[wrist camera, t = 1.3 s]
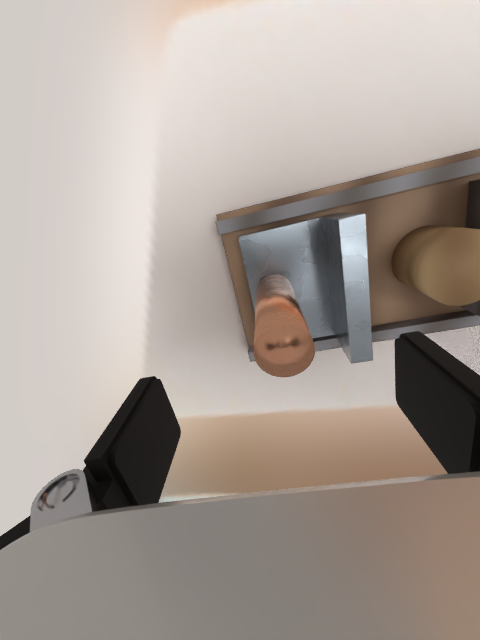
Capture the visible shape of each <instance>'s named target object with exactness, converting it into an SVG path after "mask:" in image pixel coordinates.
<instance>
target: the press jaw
mask: <svg viewBox="0 0 480 640" xmlns="http://www.w3.org/2000/svg"><path fill="white" fill-rule="evenodd" d="M238 238H239V243H240V247H241V252H242V256H243V261H244V265H245V270H246V274H247V279H248V283H249V288H250V292H251V297H252V301H253V306H254V310H255V330H254V348H253V353H254V358H255V361H256V363H257V364H258V366H259V367H260V368H261V369H262V370H263V371H265V372H266V373H268V374H270V375H273V376H277V377H290V376H294V375H297V374H299V373H301V372H302V371H304V370H305V369H306V368H307V367H308V366H309V365H310V364H311V362H312V360H313V358H314V354H315V345H314V342H313V339H312V338H318V337H324V336H330V335H335V337H336V338H337V340H338V342H339V343H340V345H341V347H342V349H343V350H344V352H345V354H346V355H347V357H348V359H349V361H350V362H351V363H358V362H365V361H371V360H373V352H372V333H371V314H370V294H369V275H368V256H367V237H366V217H365V214H361V213H334V214H330V215H325V216H321V217H317V218H313V219H308V220H304V221H300V222H296V223H291V224H287V225H283V226H279V227H274V228H270V229H266V230H262V231H257V232H253V233H249V234H245V235H240V236H239V237H238Z"/></svg>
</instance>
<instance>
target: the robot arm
mask: <svg viewBox="0 0 480 640" xmlns="http://www.w3.org/2000/svg"><path fill="white" fill-rule="evenodd" d="M395 387H396V401H397V403H398V405H399V407H400V408H401V410H402V411H403V413H404V414H405V415H406V417H407V418H408V419H409V421H410V422H411V423H412V425H413V426H414V428H415V429H416V430H417V432H418V433H419V434H420V436H421V437H422V438H423V440H424V441H425V442H426V444H427V445H428V447H429V448H430V449H431V451H432V452H433V453H434V455H435V456H436V458H437V459H438V460H439V462H440V463H441V464H442V466H443V467H444V468H445V470H446V471H447V473H448V474H443V475H429V476H417V477H406V478H396V479H386V480H376V481H365V482H355V483H345V484H335V485H324V486H314V487H305V488H295V489H285V490H275V491H266V492H256V493H246V494H237V495H227V496H218V497H209V498H200V499H191V500H181V501H172V502H163V503H158V502H159V499H160V496H161V493H162V490H163V487H164V483H165V481H166V478H167V474H168V472H169V469H170V466H171V463H172V459H173V457H174V454H175V451H176V448H177V444H178V441H179V438H180V434H181V430H180V426H179V424H178V421H177V419H176V416H175V414H174V411H173V409H172V406H171V404H170V402H169V399H168V397H167V394H166V392H165V389H164V387H163V384H162V382H161V380H160V379H157V378H156V377H154V376H152V377H146V378H141V379H140V380H139V381H138V382H137V384H136V385H135V387H134V388H133V390H132V391H131V393H130V394H129V395H128V397H127V398H126V400H125V401H124V403H123V404H122V406H121V407H120V409H119V410H118V411H117V413H116V414H115V416H114V417H113V419H112V421H111V422H110V423H109V425H108V426H107V427H106V429H105V430H104V432H103V434H102V435H101V436H100V438H99V439H98V441H97V442H96V444H95V445H94V446H93V448H92V449H91V451H90V452H89V454H88V455H87V457H86V458H85V460H84V462H85V464H86V467H85V468H84V470H83V471H82V470H79V469H73V470H70V471H67V472H64V473H62V474H60V475H58V476H57V477H56V478H54V479H53V480H51V481H50V482H49V483H48V484H47V485H46V486H44V487H43V488H42V490H41V491H40V492H39V493H38V495H37V496H36V497H35V499H34V501H33V503H32V507H31V515H30V516H29V517H28V518H26V519H25V520H23V521H22V522H20V523H19V524H17V525H16V526H15V527H13V528H12V529H10V530H9V531H8V532H6V533H5V534H3V535H2V536H0V640H480V375H478V374H477V373H475V372H474V371H473V370H471V369H470V368H469V367H467V366H466V365H465V364H463V363H462V362H460V361H459V360H458V359H456V358H455V357H454V356H452V355H451V354H450V353H448V352H447V351H446V350H444V349H443V348H441V347H440V346H439V345H437V344H436V343H435V342H433V341H432V340H431V339H429V338H428V337H427V336H425V335H424V334H422V333H421V332H419V331H414V332H408V333H403V334H400V336H399V338H396V339H395Z"/></svg>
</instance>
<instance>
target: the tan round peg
mask: <svg viewBox="0 0 480 640" xmlns="http://www.w3.org/2000/svg"><path fill="white" fill-rule="evenodd" d="M392 269H393V272H394V275H395V276H396V278H397V279H398V280H399V281H401V282H402V283H404V284H406V285H407V286H409V287H411V288H413V289H415V290H417V291H419V292H421V293H423V294H425V295H427V296H429V297H430V298H432V299H434V300H436V301H438V302H440V303H443V304H445V305H450V306H462V305H467V304H471V303H474V302H476V301H478V300H480V229H471V228H460V227H449V226H438V225H427V226H422V227H419V228H417V229H414V230H413V231H411V232H409V233H408V234H407V235H406V236H404V237H403V238H402V239H401V241H400V242H399V243H398V245H397V246H396V248H395V250H394V253H393V256H392Z"/></svg>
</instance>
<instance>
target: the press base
mask: <svg viewBox="0 0 480 640" xmlns="http://www.w3.org/2000/svg"><path fill="white" fill-rule="evenodd" d="M334 213H361V214H365V217H366V237H367V256H368V275H369V294H370V314H371V333H372V342H378V341H384V340H390V339H396V338H399V336H400V334H403V333H408V332H414V331H419V332H421V333H422V334H428V333H434V332H440V331H447V330H453V329H459V328H465V327H472V326H478V325H480V300H478V301H476V302H474V303H471V304H467V305H462V306H450V305H445V304H443V303H440V302H438V301H436V300H434V299H432V298H430V297H429V296H427V295H425V294H423V293H421V292H419V291H417V290H415V289H413V288H411V287H409V286H407V285H406V284H404V283H402V282H401V281H399V280H398V279H397V278H396V276H395V275H394V272H393V269H392V256H393V253H394V250H395V248H396V246H397V245H398V243H399V242H400V241H401V239H402V238H403V237H404V236H406V235H407V234H408V233H409V232H411V231H413V230H414V229H417V228H419V227H422V226H427V225H438V226H449V227H460V228H471V229H480V149H477V150H473V151H469V152H465V153H461V154H457V155H453V156H449V157H445V158H441V159H437V160H433V161H429V162H425V163H421V164H417V165H413V166H409V167H405V168H401V169H397V170H393V171H389V172H385V173H381V174H377V175H373V176H369V177H365V178H361V179H357V180H353V181H349V182H345V183H341V184H337V185H333V186H329V187H325V188H322V189H318V190H314V191H310V192H306V193H302V194H298V195H294V196H290V197H286V198H282V199H278V200H274V201H270V202H266V203H262V204H258V205H254V206H250V207H246V208H242V209H238V210H234V211H230V212H226V213H222V214H218V215H217V219H218V221H217V222H216V225H217V229H218V233H219V235H220V234H221V236H222V240H223V244H224V248H225V252H226V256H227V260H228V264H229V268H230V273H231V277H232V281H233V285H234V289H235V293H236V297H237V301H238V305H239V309H240V313H241V317H242V322H243V326H244V330H245V334H246V338H247V342H248V346H249V349H248V354H249V358H250V362H252V361H255V358H254V353H253V348H254V330H255V310H254V306H253V301H252V297H251V292H250V288H249V283H248V279H247V274H246V270H245V265H244V261H243V256H242V252H241V247H240V243H239V238H238V237H239V236H240V235H245V234H249V233H253V232H257V231H262V230H266V229H270V228H274V227H279V226H283V225H287V224H291V223H296V222H300V221H304V220H308V219H313V218H317V217H321V216H325V215H330V214H334ZM312 339H313V342H314V345H315V351H321V350H327V349H334V348H340V347H341V345H340V343H339V342H338V340H337V338H336V337H335V335H330V336H324V337H318V338H312Z"/></svg>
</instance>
